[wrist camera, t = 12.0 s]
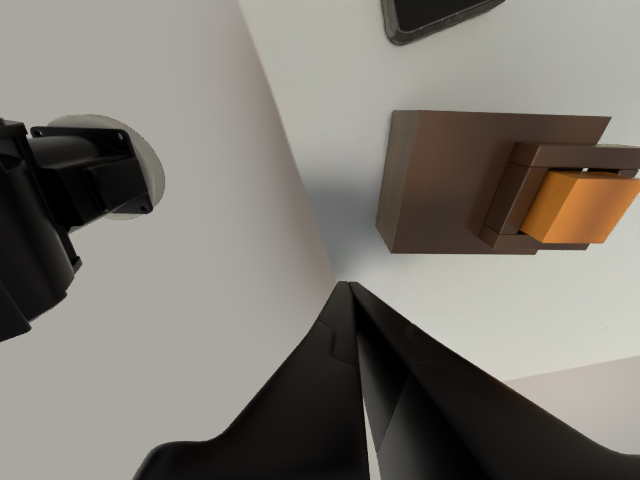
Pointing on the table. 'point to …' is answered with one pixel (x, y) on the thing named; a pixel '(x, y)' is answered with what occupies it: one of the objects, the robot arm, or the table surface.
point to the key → (578, 206)
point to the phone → (428, 16)
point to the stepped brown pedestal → (482, 177)
